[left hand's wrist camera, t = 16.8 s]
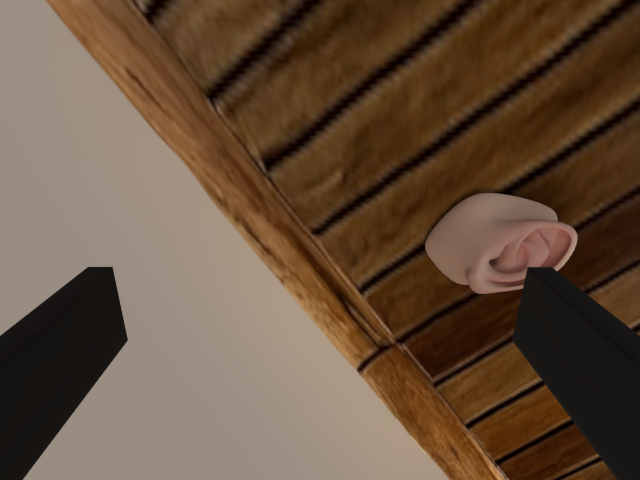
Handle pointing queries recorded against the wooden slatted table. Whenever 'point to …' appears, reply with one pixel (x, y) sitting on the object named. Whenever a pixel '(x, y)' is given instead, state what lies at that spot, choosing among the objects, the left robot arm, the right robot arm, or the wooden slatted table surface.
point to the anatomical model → (498, 241)
